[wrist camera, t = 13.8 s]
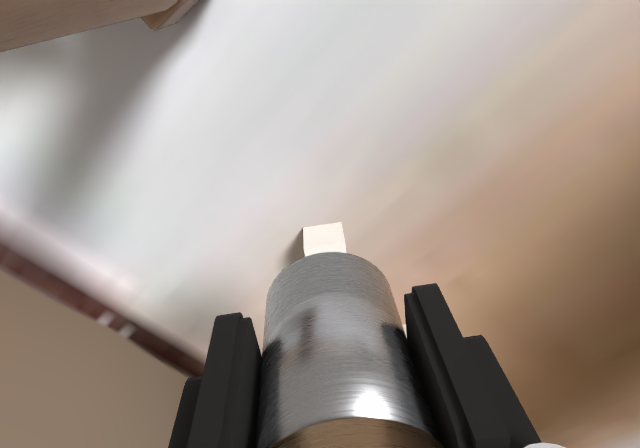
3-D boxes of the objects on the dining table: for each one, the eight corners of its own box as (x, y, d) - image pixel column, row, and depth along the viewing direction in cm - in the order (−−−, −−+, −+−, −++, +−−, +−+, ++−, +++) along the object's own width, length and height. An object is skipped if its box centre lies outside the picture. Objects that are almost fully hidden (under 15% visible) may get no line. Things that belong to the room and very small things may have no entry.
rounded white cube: (341, 221, 28) (345, 242, 26) (345, 254, 29) (349, 276, 27) (303, 227, 28) (303, 248, 26) (308, 259, 29) (309, 282, 27)
